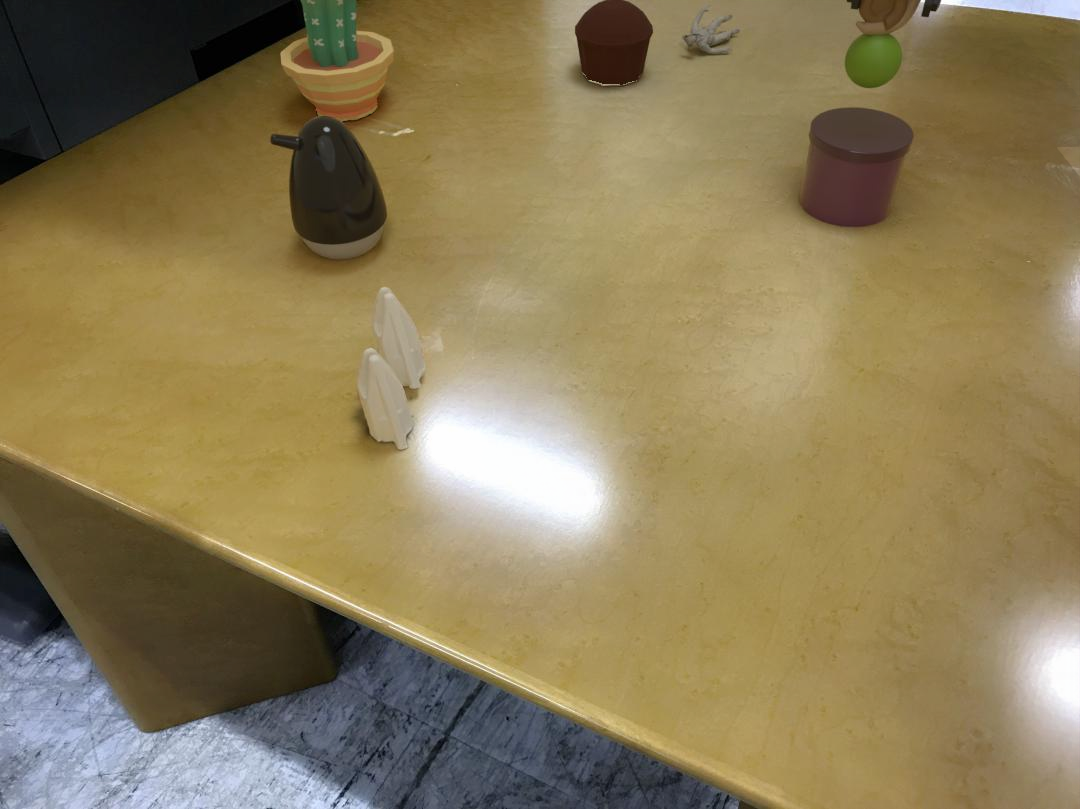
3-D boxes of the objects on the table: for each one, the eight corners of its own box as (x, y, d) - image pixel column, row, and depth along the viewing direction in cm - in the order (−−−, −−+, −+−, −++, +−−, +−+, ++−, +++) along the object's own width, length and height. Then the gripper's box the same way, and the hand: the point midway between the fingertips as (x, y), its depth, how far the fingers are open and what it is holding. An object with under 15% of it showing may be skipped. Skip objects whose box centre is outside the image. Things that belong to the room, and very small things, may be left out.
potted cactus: (408, 83, 132) (383, -107, 115) (393, 132, 121) (364, -71, 104) (304, 85, 132) (264, -104, 115) (280, 133, 121) (232, -68, 104)
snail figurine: (911, 96, 90) (944, -31, 82) (847, 98, 90) (874, -28, 82) (895, 73, 94) (925, -50, 86) (834, 75, 94) (858, -47, 86)
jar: (883, 195, 106) (907, 109, 98) (894, 245, 98) (920, 156, 91) (791, 190, 107) (807, 104, 100) (795, 239, 100) (813, 150, 92)
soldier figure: (750, 47, 141) (722, 48, 131) (724, 65, 144) (695, 67, 134) (726, 2, 141) (697, 0, 131) (701, 21, 144) (671, 20, 134)
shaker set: (389, 358, 86) (371, 262, 79) (432, 360, 86) (418, 263, 78) (360, 448, 78) (337, 350, 70) (408, 450, 77) (390, 352, 70)
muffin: (575, 58, 137) (575, -10, 130) (648, 57, 136) (652, -12, 130) (574, 92, 128) (574, 20, 121) (652, 91, 128) (656, 19, 121)
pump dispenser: (292, 232, 103) (261, 106, 93) (381, 214, 105) (360, 89, 95) (305, 281, 96) (273, 150, 86) (400, 261, 98) (380, 131, 88)
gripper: (857, -195, 83) (814, -18, 84) (1025, -188, 79) (978, -2, 80) (852, -144, 91) (812, 19, 91) (1006, -134, 87) (963, 36, 87)
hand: (890, 8), depth 85 cm, fingers closed on snail figurine, 6 cm apart
